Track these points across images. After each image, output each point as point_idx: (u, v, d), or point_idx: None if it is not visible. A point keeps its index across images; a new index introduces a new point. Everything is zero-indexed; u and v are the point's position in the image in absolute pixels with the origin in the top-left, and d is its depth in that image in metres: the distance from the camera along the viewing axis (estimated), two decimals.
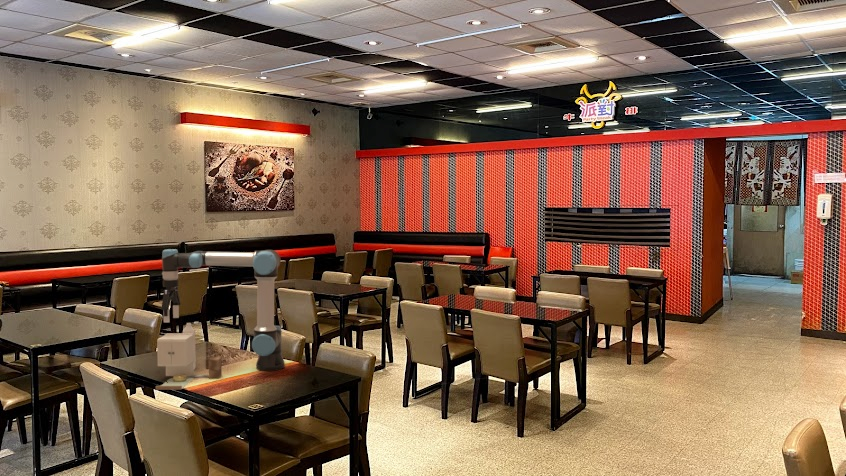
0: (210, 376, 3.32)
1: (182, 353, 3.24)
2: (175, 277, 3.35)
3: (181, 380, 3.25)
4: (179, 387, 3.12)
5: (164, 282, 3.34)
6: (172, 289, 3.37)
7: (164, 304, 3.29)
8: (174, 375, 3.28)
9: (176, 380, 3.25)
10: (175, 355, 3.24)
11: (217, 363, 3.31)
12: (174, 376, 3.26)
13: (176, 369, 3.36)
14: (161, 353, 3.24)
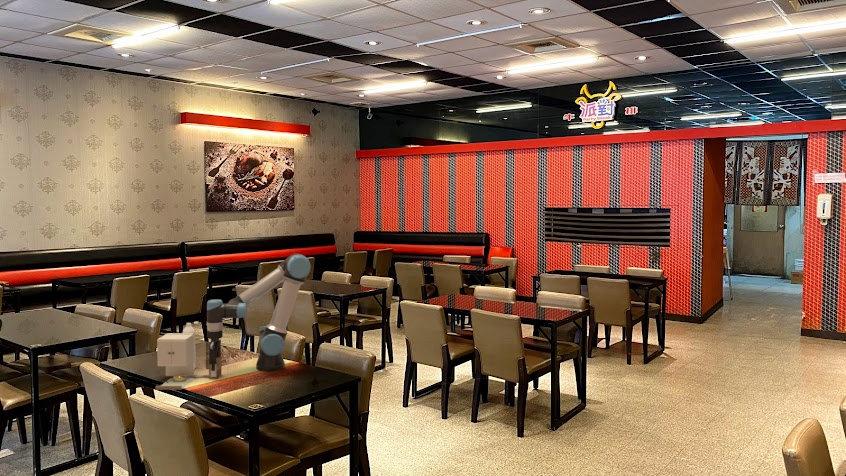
0: (210, 376, 3.32)
1: (182, 353, 3.24)
2: (220, 328, 3.31)
3: (181, 380, 3.25)
4: (179, 387, 3.12)
5: (209, 333, 3.30)
6: (216, 338, 3.32)
7: (211, 359, 3.27)
8: (174, 375, 3.28)
9: (176, 380, 3.25)
10: (175, 355, 3.24)
11: (217, 363, 3.31)
12: (174, 376, 3.26)
13: (176, 369, 3.36)
14: (161, 353, 3.24)
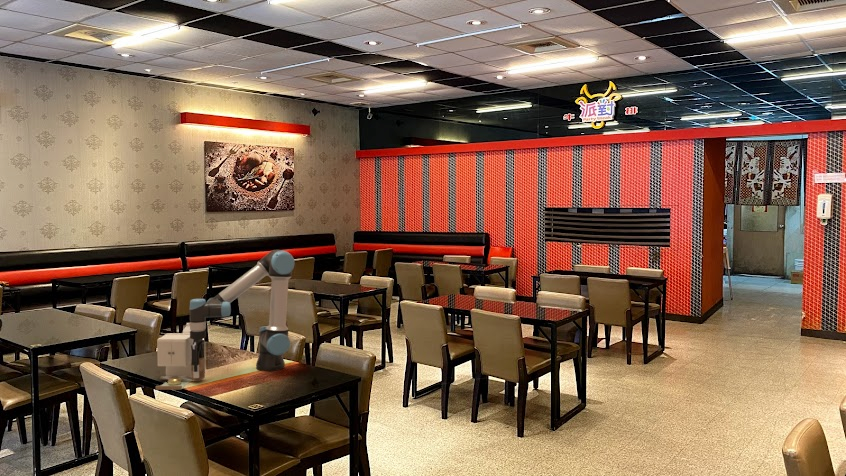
0: None
1: (182, 353, 3.24)
2: (203, 328, 3.23)
3: (176, 384, 3.19)
4: (179, 387, 3.12)
5: (191, 333, 3.22)
6: None
7: (194, 360, 3.19)
8: (169, 378, 3.21)
9: (171, 383, 3.19)
10: (175, 355, 3.24)
11: (200, 364, 3.23)
12: (169, 379, 3.19)
13: (176, 369, 3.36)
14: (161, 353, 3.24)
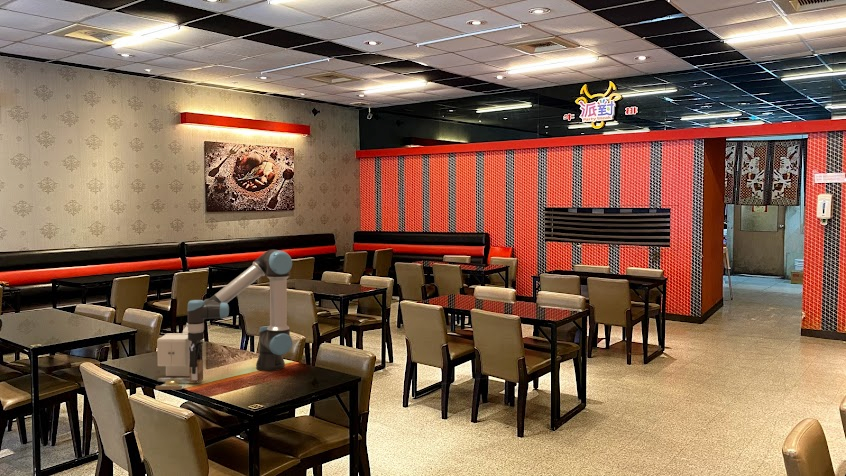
0: (191, 379, 3.20)
1: (182, 353, 3.24)
2: (201, 330, 3.19)
3: None
4: (179, 387, 3.12)
5: (189, 335, 3.18)
6: (197, 340, 3.20)
7: (192, 362, 3.16)
8: None
9: (168, 385, 3.15)
10: (175, 355, 3.24)
11: (198, 366, 3.20)
12: (166, 381, 3.16)
13: (176, 369, 3.36)
14: (161, 353, 3.24)
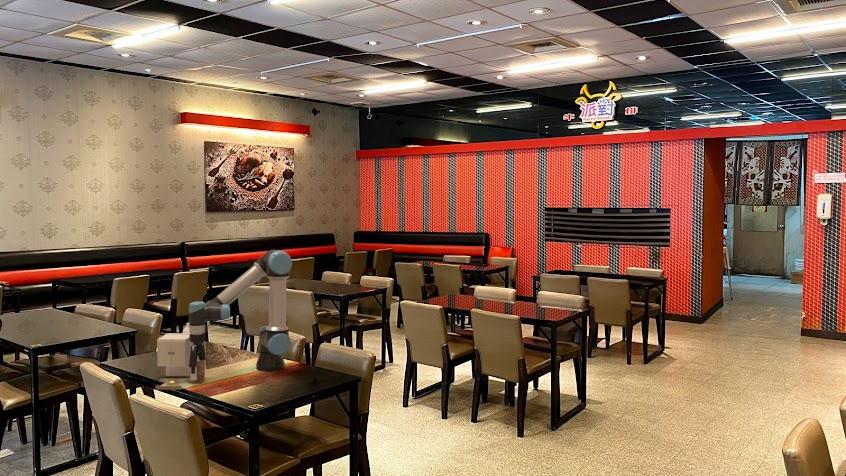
0: (192, 381, 3.22)
1: (182, 353, 3.24)
2: (202, 331, 3.22)
3: (173, 385, 3.16)
4: (179, 387, 3.12)
5: (191, 337, 3.20)
6: (199, 343, 3.23)
7: (191, 361, 3.15)
8: None
9: (168, 385, 3.15)
10: (175, 355, 3.24)
11: (200, 368, 3.22)
12: (166, 381, 3.16)
13: (176, 369, 3.36)
14: (161, 353, 3.24)
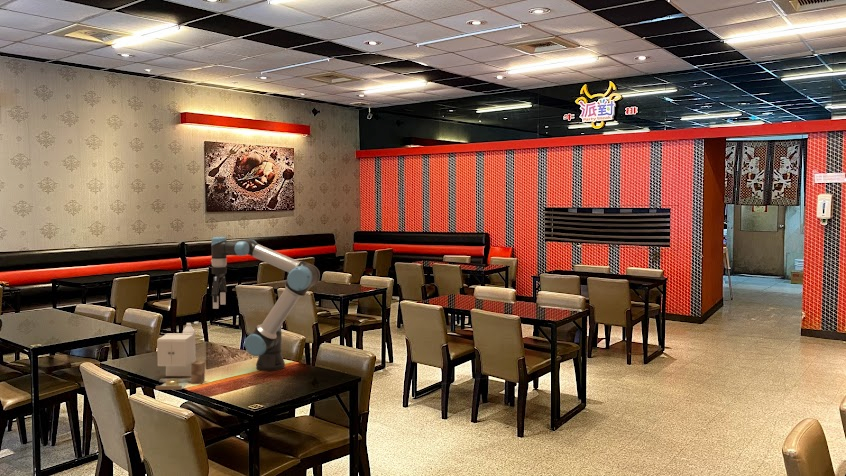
0: (192, 381, 3.22)
1: (182, 353, 3.24)
2: (224, 264, 3.42)
3: (176, 385, 3.16)
4: (179, 387, 3.12)
5: (213, 269, 3.40)
6: (221, 276, 3.43)
7: (214, 290, 3.35)
8: (166, 381, 3.17)
9: None
10: (175, 355, 3.24)
11: (200, 368, 3.22)
12: (167, 382, 3.15)
13: (176, 369, 3.36)
14: (161, 353, 3.24)
